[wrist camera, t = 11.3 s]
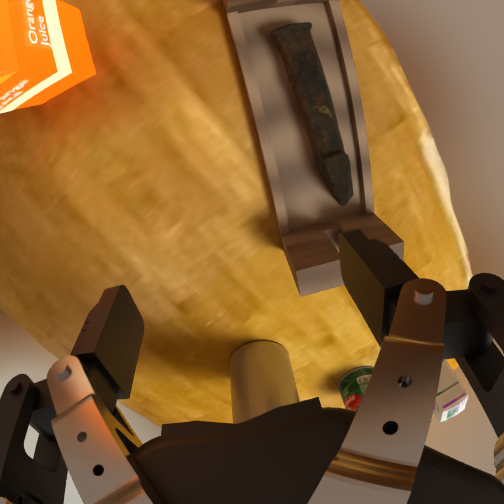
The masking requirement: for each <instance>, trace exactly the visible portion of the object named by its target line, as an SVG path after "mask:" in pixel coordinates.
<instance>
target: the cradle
mask: <svg viewBox="0 0 504 504" xmlns="http://www.w3.org/2000/svg"><path fill="white" fill-rule="evenodd" d="M222 4H223V7H224V10H225V14H226V18H227V21H228V25H229V28H230V32H231V36H232V39H233V43H234V47H235V50H236V54H237V58H238V61H239V65H240V69H241V73H242V77H243V80H244V84H245V88H246V92H247V96H248V100H249V104H250V108H251V112H252V116H253V120H254V124H255V128H256V132H257V136H258V140H259V144H260V149H261V153H262V157H263V161H264V165H265V170H266V174H267V178H268V183H269V187H270V191H271V196H272V200H273V204H274V209H275V213H276V218H277V222H278V227H279V232H280V236H281V241H282V245H283V250H284V253H285V256H286V259H287V261H288V264H289V267H290V269H291V272H292V275H293V278H294V280H295V283H296V286H297V289H298V291H299V294H300V297H302V296H305V295H309V294H313V293H317V292H320V291H324V290H327V289H331V288H335V287H338V286H342V285H344V282H343V279H342V275H341V268H340V255H339V252H338V251H339V243H338V235H339V233H343V232H347V231H351V230H355V229H360V230H361V231H362V232H363V233H364V234H365V235H366V237H367V238H368V239H369V240H371V239H377V240H379V241H382V242H384V243H386V244H387V245H388V246H389V247H390V248H391V249H392V250H393V251H394V253H396V254H397V255H398V256H399V257H400V259H402V260H403V256H404V241H403V240H402V239H401V238H400V237H399V236H398V235H396V234H395V233H394V232H393V231H392V230H391V229H390V228H389V227H388V226H387V225H386V224H385V223H384V222H383V221H382V220H381V219H380V218H379V217H377V216H376V215H375V214H374V203H373V190H372V178H371V168H370V159H369V150H368V142H367V135H366V128H365V121H364V114H363V108H362V102H361V97H360V91H359V86H358V80H357V75H356V70H355V66H354V61H353V56H352V52H351V48H350V43H349V39H348V35H347V31H346V27H345V23H344V20H343V16H342V12H341V9H340V5H339V2H338V0H222ZM302 22H310V23H312V28H311V30H310V31H311V35H312V38H313V41H314V44H315V47H316V50H317V53H318V56H319V58H320V61H321V64H322V67H323V71H324V74H325V77H326V81H327V84H328V87H329V91H330V94H331V98H332V101H333V105H334V109H335V114H336V118H337V121H338V127H339V130H340V134H341V138H342V141H343V145H344V150H345V153H346V154H348V157H349V160H350V165H351V177H352V183H353V193H354V195H353V196H352V198H351V199H350V200H349V201H348V203H347V204H346V205H343V206H341V205H339V204H338V203H337V202H336V200H335V199H334V198H333V197H332V195H331V193H330V191H329V190H328V189H327V188H326V185H325V183H324V181H323V179H322V177H321V175H320V173H319V171H318V168H317V166H316V163H315V160H314V157H313V150H312V146H311V143H310V139H309V136H308V133H307V130H306V126H305V123H304V120H303V117H302V114H301V111H300V108H299V105H298V102H297V99H296V97H295V93H294V90H293V88H292V83H291V82H289V79H288V74H287V72H286V70H285V65H284V62H283V59H282V55H281V54H280V53H279V52H278V51H277V42H276V40H274V39H272V38H271V37H270V32H271V31H273V30H275V29H277V28H279V27H282V26H285V25H287V24H294V23H302Z"/></svg>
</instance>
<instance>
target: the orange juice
mask: <svg viewBox="0 0 504 504" xmlns="http://www.w3.org/2000/svg"><path fill="white" fill-rule="evenodd" d="M94 75H96V71H95V67H94V64H93V60H92V57H91V53H90V49H89V45H88V42H87V38H86V34H85V30H84V26H83V21H82V17H81V13H80V9H78V8H76V7H73V6H71V5H69V4H67V3H65V2H62V1H60V0H0V113H4V112H8V111H12V110H15V109H19V108H24V107H29V106H34V105H40V104H43V103H45V102H46V101H48V100H50V99H51V98H53V97H55V96H56V95H58V94H60V93H62V92H63V91H65V90H67V89H69V88H70V87H72V86H74V85H76V84H78V83H80V82H82V81H84V80H86V79H88V78H90V77H92V76H94Z"/></svg>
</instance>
